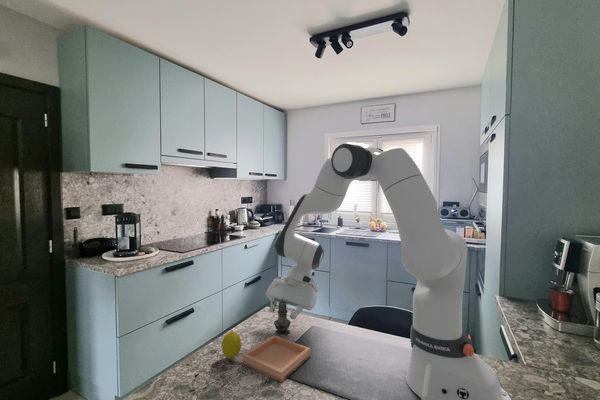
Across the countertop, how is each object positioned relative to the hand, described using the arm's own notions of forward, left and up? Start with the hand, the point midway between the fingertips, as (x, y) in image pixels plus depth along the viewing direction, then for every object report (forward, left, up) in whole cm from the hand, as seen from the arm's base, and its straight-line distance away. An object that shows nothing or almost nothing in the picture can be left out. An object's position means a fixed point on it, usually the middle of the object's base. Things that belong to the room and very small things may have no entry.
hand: (281, 314), depth 95 cm
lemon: (+3, +20, -7) cm, 22 cm away
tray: (-9, +13, -6) cm, 17 cm away
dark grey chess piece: (0, -1, -7) cm, 7 cm away
